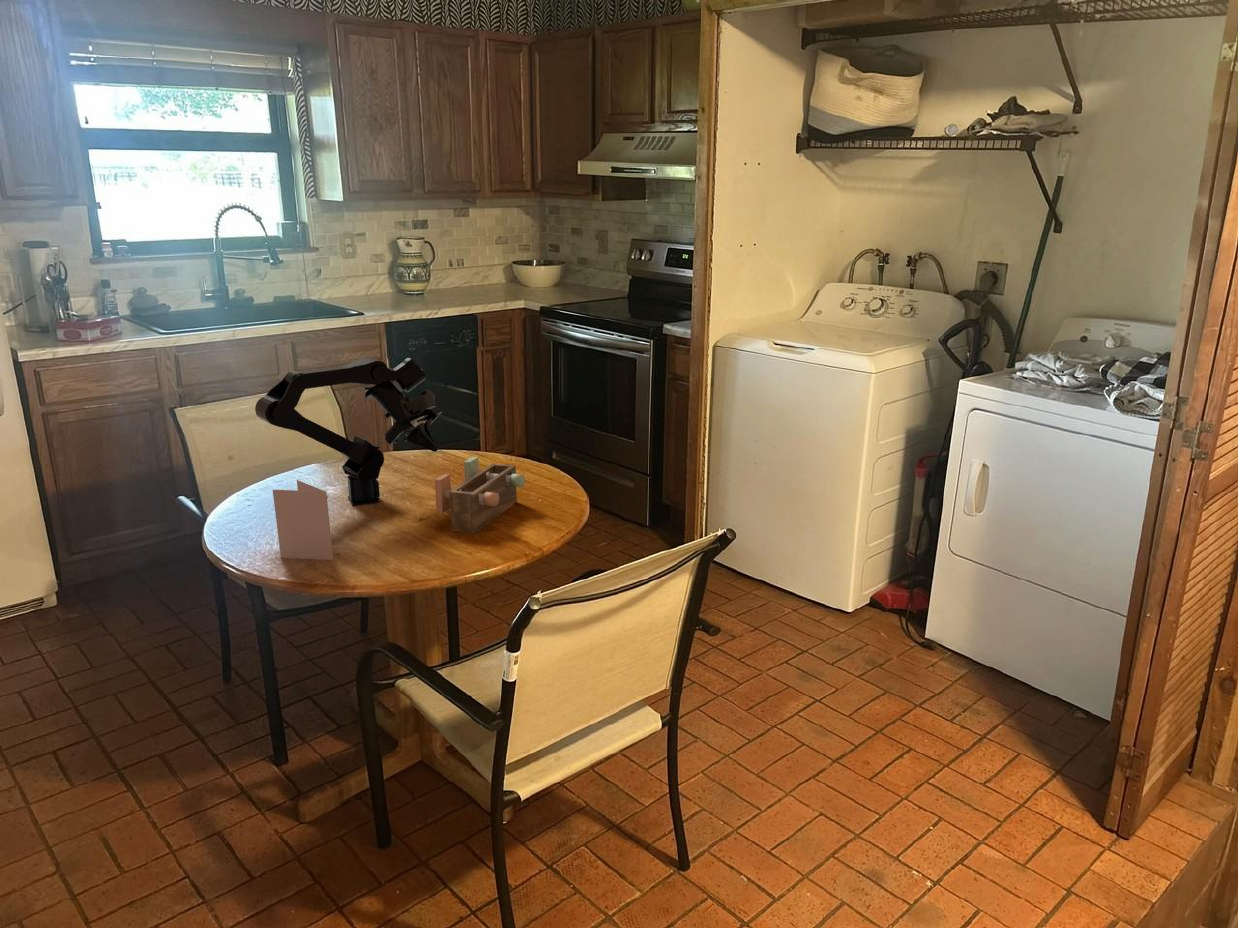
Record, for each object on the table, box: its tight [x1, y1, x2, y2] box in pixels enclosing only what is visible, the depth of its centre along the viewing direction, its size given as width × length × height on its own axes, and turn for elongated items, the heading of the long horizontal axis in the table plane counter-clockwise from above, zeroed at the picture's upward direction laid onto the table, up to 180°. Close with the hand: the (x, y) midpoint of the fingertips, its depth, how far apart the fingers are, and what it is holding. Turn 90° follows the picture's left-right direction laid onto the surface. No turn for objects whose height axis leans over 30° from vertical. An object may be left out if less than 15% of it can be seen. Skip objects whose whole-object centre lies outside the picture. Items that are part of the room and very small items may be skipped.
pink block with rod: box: [434, 473, 499, 515], centre depth 206 cm, size 14×4×8 cm, turn 72°
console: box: [449, 463, 518, 534], centre depth 213 cm, size 6×22×9 cm, turn 162°
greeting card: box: [272, 479, 334, 561], centre depth 189 cm, size 11×7×15 cm, turn 48°
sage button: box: [463, 456, 526, 488], centre depth 219 cm, size 14×4×8 cm, turn 71°
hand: (437, 450), depth 222 cm, fingers closed
